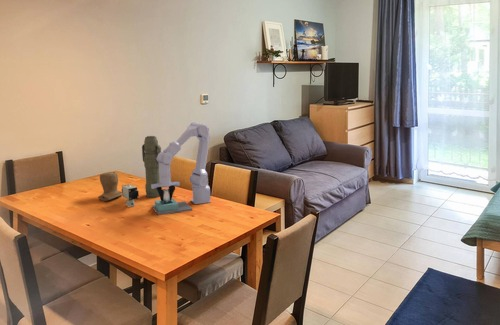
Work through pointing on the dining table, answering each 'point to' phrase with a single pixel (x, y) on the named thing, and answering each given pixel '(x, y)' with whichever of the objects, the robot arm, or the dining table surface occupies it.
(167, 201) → the pin
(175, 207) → the block
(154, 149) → the stone statue
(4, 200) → the dining table surface
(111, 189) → the brown upright piece
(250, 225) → the dining table surface
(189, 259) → the dining table surface
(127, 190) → the pneumatic valve
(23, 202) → the dining table surface
